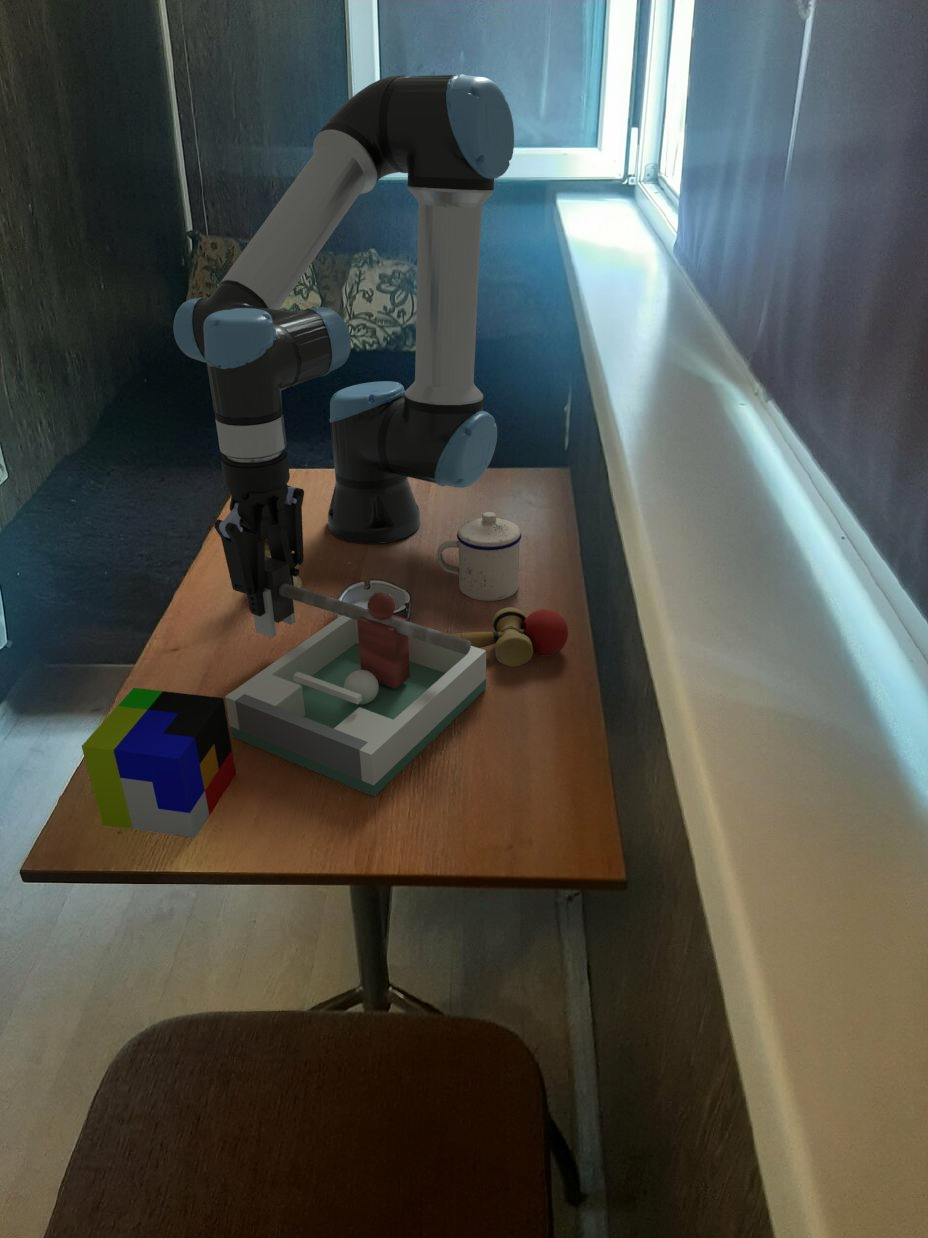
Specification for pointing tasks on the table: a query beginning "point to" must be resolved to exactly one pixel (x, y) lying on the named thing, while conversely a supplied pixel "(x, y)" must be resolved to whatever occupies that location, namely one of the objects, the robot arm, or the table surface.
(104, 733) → the puzzle toy
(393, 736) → the pitch
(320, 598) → the striker
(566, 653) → the table surface
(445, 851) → the table surface
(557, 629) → the kendama
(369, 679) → the ball
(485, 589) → the teacup with lid
